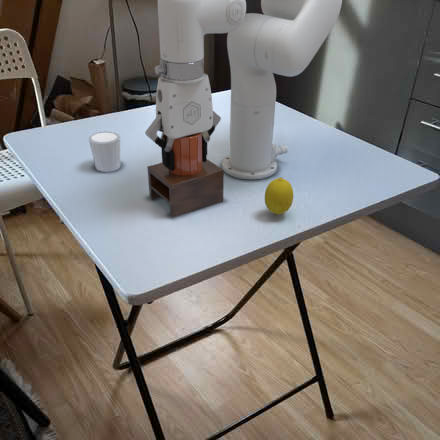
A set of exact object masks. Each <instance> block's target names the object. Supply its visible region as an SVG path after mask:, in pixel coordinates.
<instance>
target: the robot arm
mask: <svg viewBox="0 0 440 440" xmlns="http://www.w3.org/2000/svg"><path fill="white" fill-rule="evenodd" d="M342 4H343V0H260V8H261V11H262V13H263V14H262V13H256V12H255V13H254V12H250V13H249V12H248V13H247V1H246V0H157V17H158V35H159V36H158V37H159V55H160V56H159V57H160V58H159V64H158V65H155V66H154V73H155V74H156V75H160V76H159V77H158V79H157V86H156V94H155V119H154V120H153V121H152V122H151V124H150V125H149V126H148V127H147V129H146V130H145V132H144V135H145V136H146V137H147V138H149V139H150V140H151V141H152V142H153V143H154V144H156V145H157V146H158V147H159V148H160V149H161V163H163V165H164V166H165V167H166V168H168V169H169V170H170V171H173V170H174V169H175V166H174V151H172V150H171V148H172V145H173V142H174V139H177V138H181V137H185V136H190V135H194V134H198V133H202V162H206V161H207V159H208V158H207V155H208V142H210V140H211V136H212V135H213V133H214V132H215V130H216V127H217V126H218V125H219V123H220V121H222V120H221V119H222V118H221V116H220V115H218V113H216V112H215V111H214V107H213V96H212V89H211V84H210V79H209V76H208V75H209V74H207V73H205V35H209V34H227V36H226V48H227V55H228V61H229V68H230V108H229V109H230V114H229V150H228V151H229V152H228V155H227V156H226V157H225V158H223V160H222V162H221V167H222V168H221V169H223V170H224V173H225V174H227V175H229V176H231V177H234V178H236V179H242V180H260V179H261V180H262V179H265V178H268V177H271V176H273V175H275V173H276V172H277V170H278V162H277V161H276V159H275V158H277V157H278V156H281V155H284V154H286V153H288V150H289V149H288V145H286V144H282V145H279V146H277V145H276V143H273V138H274V126H275V115H276V101H277V84H276V80H275V75H274V74H276V75H280V76H284V77H296V76H298V75H300V74H302V73H303V72H304V71H305V70H306V68H307V67H308V66H309V65H310V63H311V62H312V61H313V59H314V57H315V56H316V54H317V53H318V52H319V50H320V49H321V46H322V45H323V44H324V42H325V40H326V39H327V38H328V36H329V34H330V33H331V31H332V30H333V29H334V27H335V25H336V23H337V21H338V18H339V16H340V12H341V8H342ZM158 132H160V133H161V135H160V137H159V136H158ZM167 136H168V138H167Z"/></svg>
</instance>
